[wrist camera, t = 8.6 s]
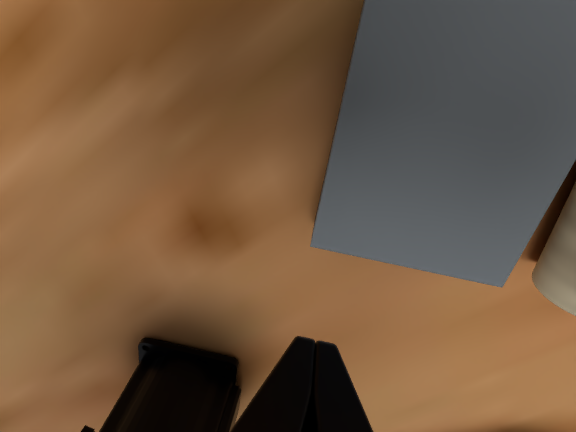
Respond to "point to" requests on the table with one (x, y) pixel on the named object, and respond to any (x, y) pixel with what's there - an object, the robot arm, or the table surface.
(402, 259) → the slate board
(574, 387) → the table surface
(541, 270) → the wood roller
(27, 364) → the table surface
